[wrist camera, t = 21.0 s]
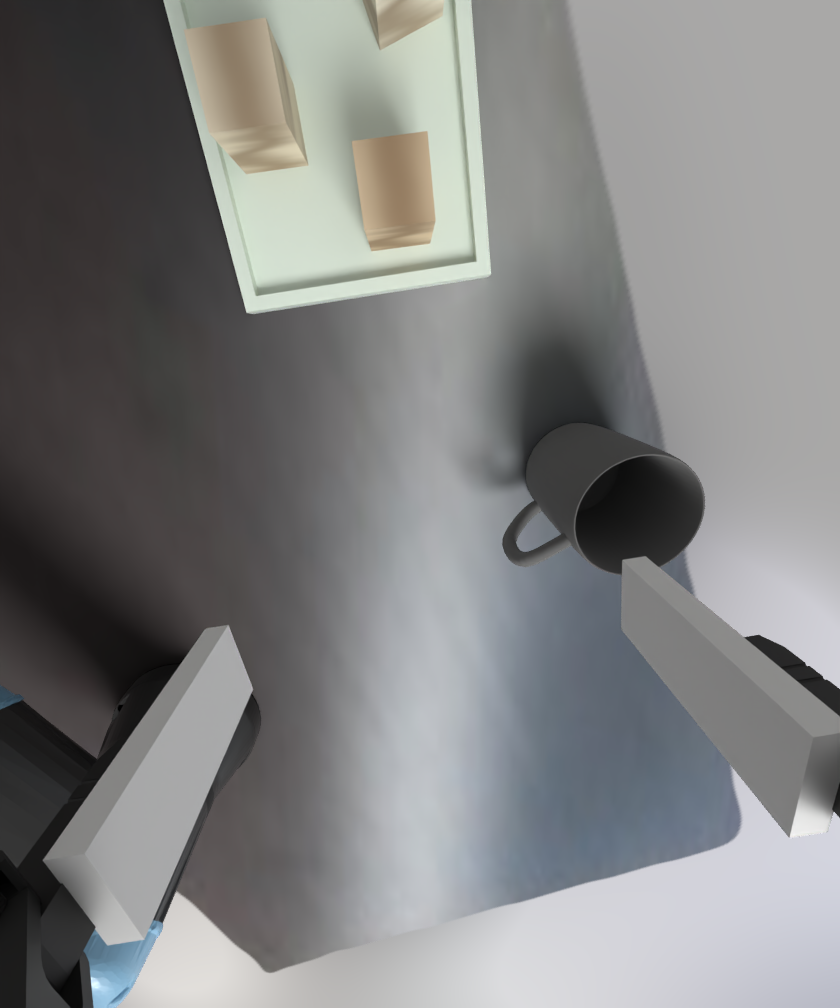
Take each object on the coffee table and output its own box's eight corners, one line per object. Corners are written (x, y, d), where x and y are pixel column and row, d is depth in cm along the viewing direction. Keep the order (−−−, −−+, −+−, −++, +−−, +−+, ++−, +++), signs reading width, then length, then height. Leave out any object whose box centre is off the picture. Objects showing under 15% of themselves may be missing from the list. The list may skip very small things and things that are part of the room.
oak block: (371, 251, 31) (364, 230, 26) (361, 180, 30) (351, 141, 24) (430, 243, 31) (435, 220, 26) (423, 172, 30) (427, 130, 24)
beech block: (246, 174, 30) (209, 132, 24) (228, 93, 28) (183, 29, 22) (308, 165, 29) (285, 122, 24) (293, 84, 28) (265, 17, 22)
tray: (253, 314, 33) (246, 312, 32) (157, -51, 26) (143, -74, 24) (487, 277, 33) (491, 274, 31) (458, -103, 25) (461, -130, 24)
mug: (594, 400, 37) (679, 423, 25) (635, 481, 39) (726, 534, 28) (464, 482, 39) (488, 536, 28) (510, 553, 42) (550, 629, 31)
